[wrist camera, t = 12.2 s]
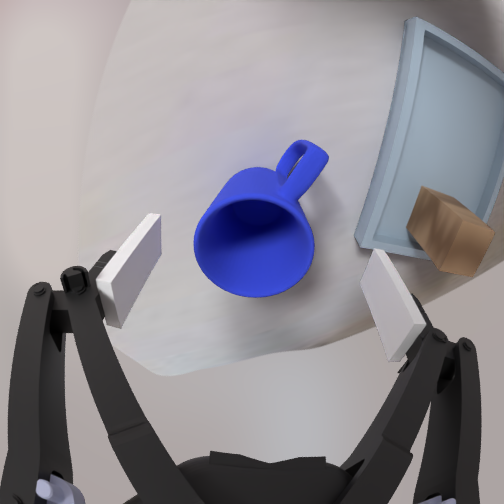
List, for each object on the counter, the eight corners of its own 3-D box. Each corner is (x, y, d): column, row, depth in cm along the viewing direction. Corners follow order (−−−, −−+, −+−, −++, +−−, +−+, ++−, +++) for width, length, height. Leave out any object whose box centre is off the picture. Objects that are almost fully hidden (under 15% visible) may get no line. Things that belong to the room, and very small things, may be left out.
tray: (404, 20, 16) (416, 16, 14) (509, 87, 16) (522, 89, 14) (353, 235, 29) (360, 247, 27) (456, 256, 29) (465, 267, 27)
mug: (339, 155, 24) (376, 192, 16) (270, 247, 30) (270, 313, 22) (266, 106, 22) (264, 114, 14) (202, 209, 28) (175, 266, 20)
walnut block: (421, 185, 24) (463, 220, 18) (453, 197, 24) (495, 232, 18) (405, 227, 27) (439, 270, 20) (438, 235, 27) (472, 277, 20)
